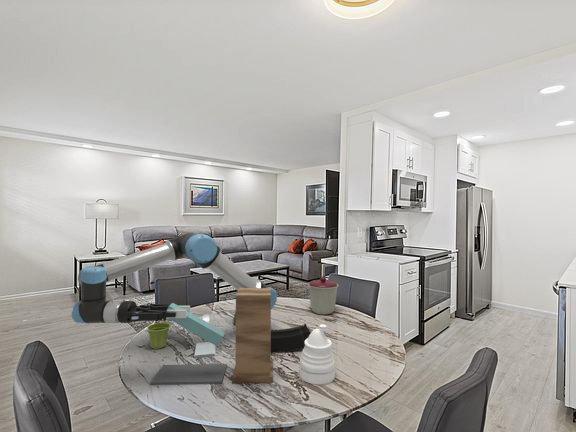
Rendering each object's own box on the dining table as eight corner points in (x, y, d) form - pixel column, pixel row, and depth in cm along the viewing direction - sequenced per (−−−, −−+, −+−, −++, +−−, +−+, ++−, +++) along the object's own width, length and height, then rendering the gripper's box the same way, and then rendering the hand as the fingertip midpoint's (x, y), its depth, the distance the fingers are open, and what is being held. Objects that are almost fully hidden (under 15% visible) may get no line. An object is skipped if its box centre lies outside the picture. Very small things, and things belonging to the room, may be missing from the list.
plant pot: (172, 341, 138) (172, 322, 137) (167, 350, 128) (167, 329, 128) (150, 342, 136) (150, 323, 136) (144, 351, 127) (144, 331, 127)
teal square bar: (167, 312, 110) (172, 302, 110) (219, 341, 111) (225, 332, 111) (163, 315, 106) (168, 305, 106) (217, 346, 107) (223, 336, 107)
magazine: (237, 333, 124) (305, 310, 128) (237, 330, 128) (304, 307, 131) (248, 372, 125) (317, 348, 129) (248, 368, 128) (315, 344, 132)
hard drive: (215, 353, 123) (215, 341, 135) (194, 355, 121) (196, 342, 134) (214, 357, 123) (215, 344, 135) (193, 359, 121) (196, 346, 134)
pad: (163, 366, 114) (163, 364, 114) (227, 365, 116) (227, 363, 116) (150, 384, 103) (150, 382, 102) (221, 383, 104) (221, 381, 104)
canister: (321, 305, 192) (321, 272, 192) (344, 312, 179) (344, 276, 179) (301, 311, 180) (301, 276, 180) (324, 319, 167) (324, 281, 166)
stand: (236, 365, 116) (236, 287, 115) (273, 365, 116) (273, 287, 116) (232, 383, 104) (232, 296, 103) (272, 382, 104) (273, 295, 104)
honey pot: (336, 367, 115) (336, 320, 114) (333, 386, 102) (334, 333, 102) (302, 363, 118) (303, 317, 117) (296, 381, 105) (296, 330, 105)
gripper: (108, 308, 99) (180, 308, 100) (132, 294, 116) (194, 295, 117) (108, 331, 99) (180, 331, 100) (132, 314, 116) (194, 314, 117)
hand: (187, 311), depth 109 cm, fingers closed on teal square bar, 4 cm apart
